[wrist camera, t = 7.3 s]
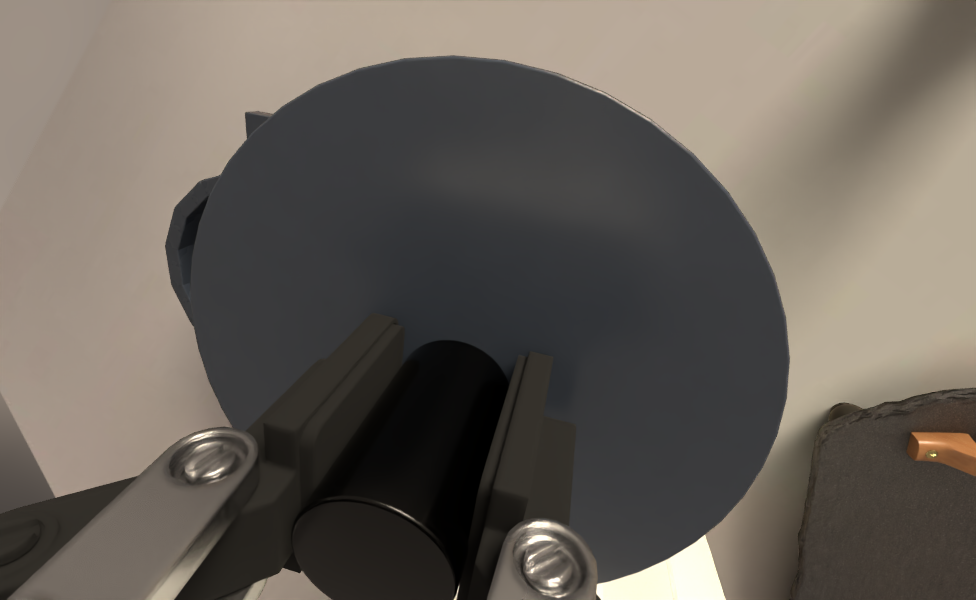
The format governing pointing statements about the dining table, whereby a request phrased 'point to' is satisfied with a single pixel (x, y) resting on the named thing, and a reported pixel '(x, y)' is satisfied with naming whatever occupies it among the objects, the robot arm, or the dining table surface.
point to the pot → (193, 226)
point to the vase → (670, 579)
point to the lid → (492, 310)
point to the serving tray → (892, 502)
